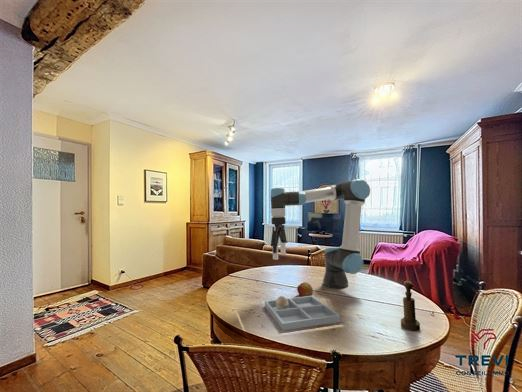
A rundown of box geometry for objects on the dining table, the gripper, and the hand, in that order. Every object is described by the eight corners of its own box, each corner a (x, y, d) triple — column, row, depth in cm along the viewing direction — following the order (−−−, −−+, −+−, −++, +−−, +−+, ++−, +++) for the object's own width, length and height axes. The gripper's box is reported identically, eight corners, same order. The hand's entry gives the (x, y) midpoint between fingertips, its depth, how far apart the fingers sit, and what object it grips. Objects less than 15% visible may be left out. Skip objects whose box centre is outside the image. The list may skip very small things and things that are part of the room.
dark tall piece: (397, 324, 102) (395, 279, 103) (412, 323, 102) (410, 278, 103) (408, 332, 95) (405, 283, 96) (424, 331, 96) (421, 283, 97)
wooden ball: (286, 306, 119) (285, 293, 119) (290, 311, 113) (290, 298, 114) (274, 308, 118) (273, 295, 118) (278, 313, 112) (277, 299, 112)
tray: (312, 302, 126) (312, 295, 127) (340, 324, 102) (340, 315, 103) (264, 308, 120) (264, 301, 120) (282, 333, 96) (282, 323, 96)
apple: (303, 294, 139) (302, 279, 140) (315, 297, 133) (315, 282, 134) (294, 297, 134) (294, 282, 134) (307, 301, 128) (306, 285, 128)
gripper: (278, 216, 147) (279, 252, 146) (263, 217, 124) (264, 261, 123) (291, 215, 144) (292, 253, 143) (278, 217, 121) (279, 262, 120)
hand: (279, 256), depth 133 cm, fingers open, 13 cm apart
